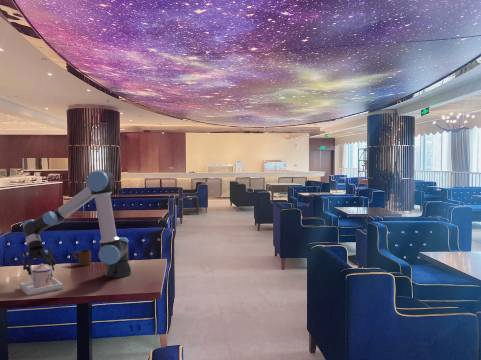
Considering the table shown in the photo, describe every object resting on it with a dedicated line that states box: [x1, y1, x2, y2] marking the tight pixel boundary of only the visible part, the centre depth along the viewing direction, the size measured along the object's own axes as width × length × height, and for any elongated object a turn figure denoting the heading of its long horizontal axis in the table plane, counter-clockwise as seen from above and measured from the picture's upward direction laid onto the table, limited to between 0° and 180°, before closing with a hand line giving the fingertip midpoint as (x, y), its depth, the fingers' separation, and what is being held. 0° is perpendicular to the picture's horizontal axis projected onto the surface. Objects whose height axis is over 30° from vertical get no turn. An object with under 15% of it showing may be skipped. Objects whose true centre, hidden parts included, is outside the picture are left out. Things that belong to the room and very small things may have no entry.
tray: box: [19, 276, 64, 297], centre depth 217 cm, size 17×17×3 cm
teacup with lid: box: [32, 263, 51, 288], centre depth 217 cm, size 12×9×12 cm
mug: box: [72, 249, 92, 267], centre depth 271 cm, size 12×8×9 cm, turn 93°
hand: (43, 277), depth 215 cm, fingers closed on teacup with lid, 9 cm apart
